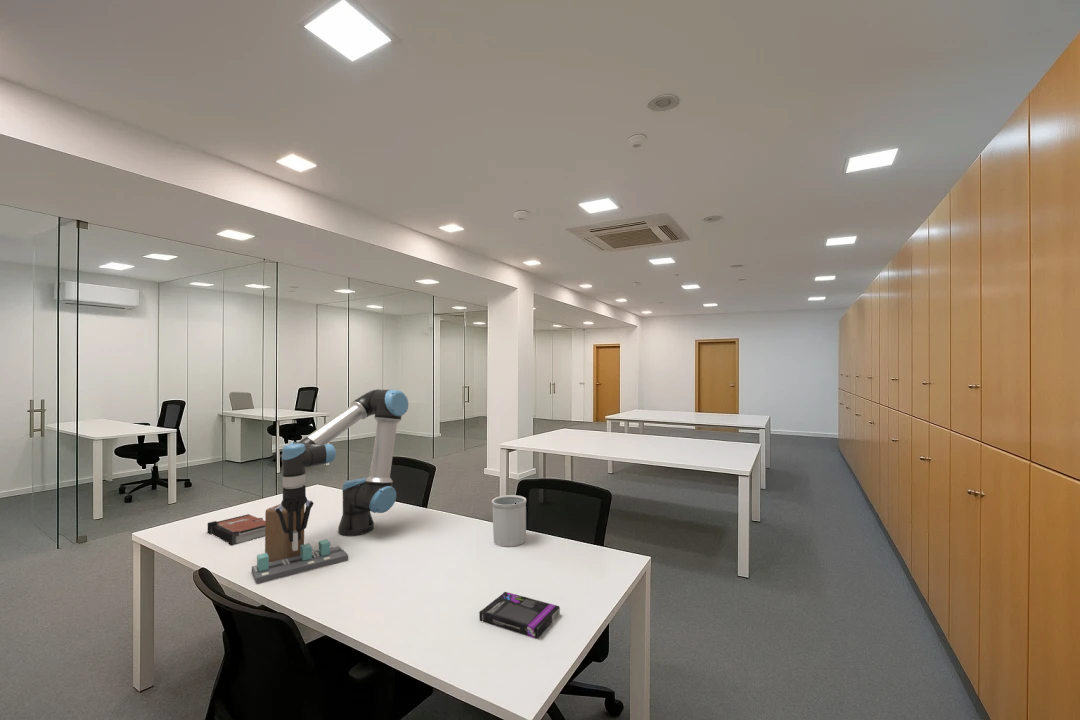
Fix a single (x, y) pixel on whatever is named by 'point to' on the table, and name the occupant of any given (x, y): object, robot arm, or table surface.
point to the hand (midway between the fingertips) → (294, 549)
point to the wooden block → (280, 535)
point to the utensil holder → (509, 520)
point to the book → (238, 529)
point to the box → (520, 614)
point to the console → (298, 565)
